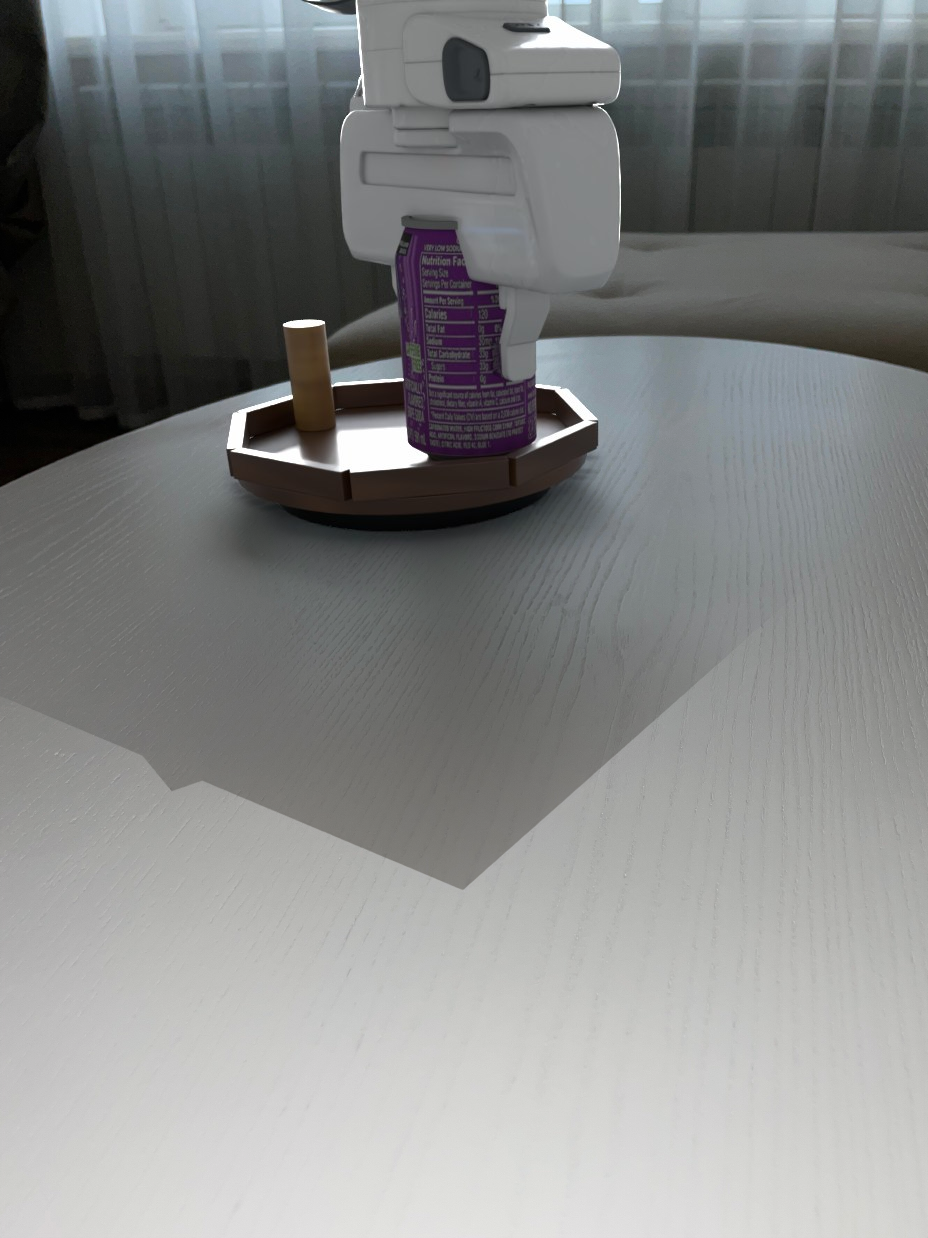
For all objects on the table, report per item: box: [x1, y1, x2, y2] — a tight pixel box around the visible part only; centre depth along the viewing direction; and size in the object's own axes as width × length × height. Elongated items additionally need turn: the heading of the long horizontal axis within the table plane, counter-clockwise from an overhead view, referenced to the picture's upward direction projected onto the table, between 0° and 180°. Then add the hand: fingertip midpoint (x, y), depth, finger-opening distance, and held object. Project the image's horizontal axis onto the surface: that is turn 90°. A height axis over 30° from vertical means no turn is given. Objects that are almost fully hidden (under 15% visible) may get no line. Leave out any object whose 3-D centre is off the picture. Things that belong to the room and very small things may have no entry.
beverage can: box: [395, 215, 537, 461], centre depth 58 cm, size 7×7×12 cm
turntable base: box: [278, 487, 552, 533], centre depth 64 cm, size 16×16×2 cm
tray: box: [225, 319, 599, 515], centre depth 62 cm, size 20×20×7 cm
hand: (470, 365), depth 58 cm, fingers closed on beverage can, 7 cm apart
